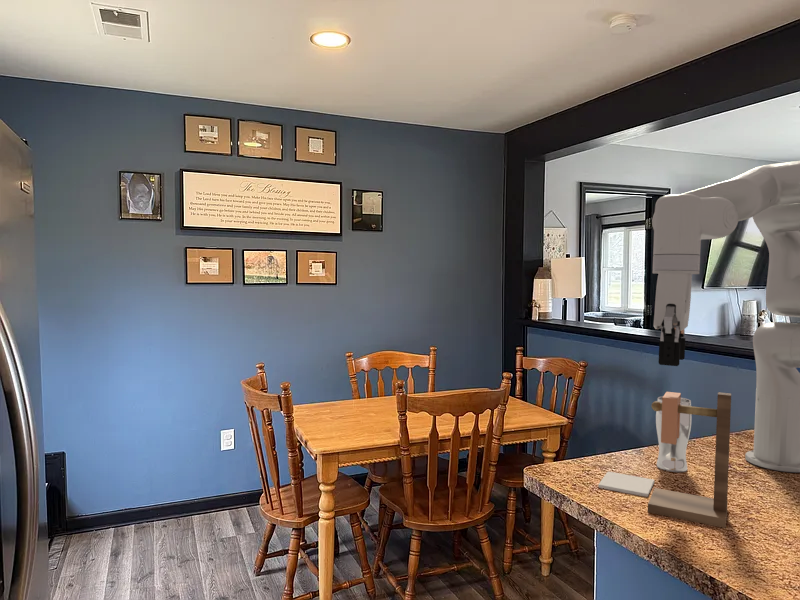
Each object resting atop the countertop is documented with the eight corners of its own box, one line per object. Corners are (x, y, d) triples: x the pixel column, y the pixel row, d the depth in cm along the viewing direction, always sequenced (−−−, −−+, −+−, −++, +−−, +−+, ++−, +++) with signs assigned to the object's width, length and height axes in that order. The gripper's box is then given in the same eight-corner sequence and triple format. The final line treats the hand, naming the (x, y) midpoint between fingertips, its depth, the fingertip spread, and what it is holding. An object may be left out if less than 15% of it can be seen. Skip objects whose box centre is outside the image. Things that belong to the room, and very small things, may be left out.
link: (665, 434, 107) (666, 391, 107) (679, 436, 106) (680, 393, 106) (660, 442, 102) (662, 397, 102) (675, 444, 101) (677, 399, 101)
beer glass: (693, 474, 122) (696, 403, 121) (658, 471, 124) (660, 401, 123) (684, 463, 129) (686, 396, 128) (651, 461, 130) (653, 395, 130)
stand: (651, 495, 110) (655, 382, 109) (727, 509, 104) (731, 390, 103) (644, 511, 103) (648, 390, 102) (725, 528, 96) (730, 399, 95)
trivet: (607, 474, 122) (607, 471, 122) (654, 482, 117) (654, 479, 117) (598, 487, 114) (598, 484, 114) (647, 497, 109) (647, 493, 109)
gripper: (659, 266, 112) (655, 355, 113) (645, 264, 97) (641, 365, 98) (702, 267, 108) (699, 358, 109) (695, 264, 93) (691, 370, 94)
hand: (671, 362), depth 103 cm, fingers open, 9 cm apart
